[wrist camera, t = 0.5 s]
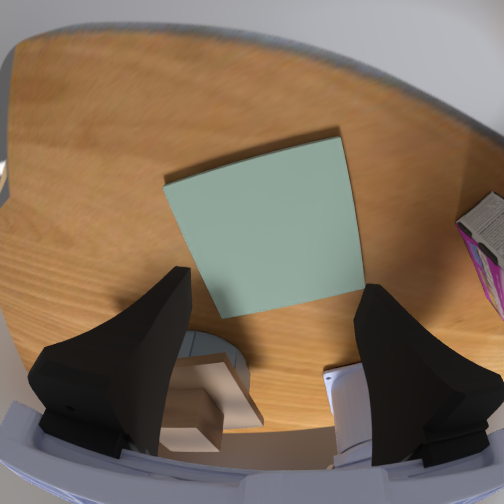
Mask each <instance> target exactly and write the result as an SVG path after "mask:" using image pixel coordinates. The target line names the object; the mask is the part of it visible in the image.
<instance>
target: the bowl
mask: <svg viewBox="0 0 504 504" xmlns="http://www.w3.org/2000/svg"><path fill="white" fill-rule="evenodd" d="M223 352H226V354H227V356H228V358H229V360H230V361H231V363H232V365H233V367H234V369H235V370H236V372H237V374H238V376H239V377H240V379H241V381H242V383H243V384H244V386H245V388H246V389H247V391H248V393H249V388H250V372H249V370H248V368H247V363H246V360H245V358H244V356H243V354H242V353H241V352H240V351H239V350H238V349H237V348H236V347H235V346H234V345H232V344H231V343H230V342H228V341H226V340H224V339H222V338H220V337H218V336H216V335H213V334H210V333H206V332H201V331H194V330H187V331H186V334H185V337H184V340H183V342H182V345H181V348H180V351H179V354H178V357H177V358H184V357H193V356H201V355H209V354H216V353H223Z"/></svg>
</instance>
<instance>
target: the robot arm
mask: <svg viewBox="0 0 504 504" xmlns="http://www.w3.org/2000/svg"><path fill="white" fill-rule="evenodd" d="M191 310H192V294H191V268H188V267H179V266H176V267H174V268H173V269H172V270H171V271H170V272H169V273H168V274H167V275H166V276H164V277H163V278H162V279H161V280H160V281H159V282H158V283H157V284H156V285H155V286H154V287H153V288H151V289H150V290H149V291H148V292H147V293H146V294H145V295H143V296H142V297H141V298H140V299H138V300H137V301H136V302H135V303H133V304H132V305H131V306H130V307H128V308H127V309H125V310H124V311H123V312H121V313H120V314H118V315H116V316H115V317H113V318H112V319H110V320H108V321H106V322H105V323H103V324H101V325H99V326H97V327H95V328H94V329H92V330H90V331H87V332H85V333H83V334H81V335H78V336H76V337H73V338H71V339H68V340H66V341H63V342H59V343H56V344H53V345H50V346H47V347H44V349H43V350H42V352H41V353H40V355H39V356H38V358H37V360H36V361H35V363H34V365H33V367H32V368H31V370H30V372H29V374H28V381H29V384H30V386H31V388H32V390H33V391H34V392H35V394H36V395H37V396H38V398H39V399H40V401H41V402H42V403H43V405H44V406H45V407H46V410H45V412H44V414H43V415H42V414H41V413H39V412H38V411H36V410H35V409H32V408H30V407H28V406H26V405H24V404H22V403H19V402H17V401H13V402H12V404H11V405H10V407H9V409H8V411H7V413H6V415H5V417H4V419H3V421H2V423H1V425H0V462H1V463H3V464H4V465H5V466H6V467H8V468H9V469H10V470H12V471H13V472H14V473H16V474H17V475H19V476H20V477H21V478H23V479H25V480H26V481H28V482H30V483H32V484H34V485H36V486H38V487H40V488H41V489H43V490H46V491H48V492H50V493H52V494H54V495H56V496H58V497H60V498H62V499H64V500H66V501H69V502H71V503H73V504H474V503H476V502H478V501H481V500H483V499H485V498H487V497H489V496H491V495H493V494H494V493H496V492H498V491H499V490H501V489H502V488H504V428H503V429H500V430H497V431H495V432H493V433H491V434H489V435H487V434H486V431H485V430H486V429H487V428H488V427H489V425H488V422H487V419H488V418H489V417H490V416H491V415H492V414H493V413H494V412H495V411H496V410H497V409H498V408H499V407H500V405H501V404H502V403H503V402H504V382H503V379H502V377H501V375H499V374H497V373H495V372H492V371H490V370H488V369H486V368H483V367H481V366H479V365H477V364H475V363H474V362H472V361H470V360H468V359H466V358H465V357H463V356H461V355H460V354H458V353H457V352H455V351H454V350H452V349H451V348H449V347H448V346H446V345H445V344H444V343H442V342H441V341H440V340H438V339H437V338H436V337H435V336H433V335H432V334H431V333H430V332H429V331H427V330H426V329H425V328H424V327H423V326H422V325H421V324H420V323H419V322H417V321H416V320H415V319H414V318H413V317H412V316H411V315H410V314H409V313H408V312H407V311H406V310H405V309H404V308H403V307H402V306H401V305H400V304H399V303H398V302H397V301H396V300H395V299H394V298H393V297H392V296H391V295H390V294H389V293H388V292H387V291H386V290H385V289H384V288H383V287H382V286H381V285H380V284H366V286H365V289H364V292H363V295H362V298H361V301H360V304H359V306H358V309H357V312H356V315H355V317H354V329H355V337H356V342H357V346H358V350H359V354H360V358H361V362H362V363H357V364H353V365H349V366H345V367H340V368H335V369H331V370H326V371H324V372H323V378H324V382H325V386H326V390H327V395H328V399H329V403H330V408H331V412H332V414H334V422H335V431H336V439H337V448H338V455H335V456H334V465H330V466H329V467H328V468H327V470H302V471H301V470H289V471H288V470H279V471H261V470H244V469H233V468H223V467H214V466H207V465H200V464H192V463H186V462H181V461H175V460H170V459H165V458H160V457H157V454H158V446H159V438H160V432H161V425H162V419H163V413H164V408H165V402H166V397H167V392H168V387H169V383H170V378H171V375H172V371H173V368H174V365H175V362H176V360H177V357H178V354H179V351H180V348H181V345H182V342H183V340H184V337H185V334H186V331H187V328H188V324H189V319H190V314H191Z"/></svg>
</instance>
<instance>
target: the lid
mask: <svg viewBox="0 0 504 504" xmlns="http://www.w3.org/2000/svg"><path fill="white" fill-rule="evenodd" d="M263 425H264V418H263V416H262V415H261V413H260V411H259V410H258V408H257V406H256V405H255V403H254V401H253V400H252V398H251V396H250V394H249V393H248V391H247V389H246V388H245V386H244V384H243V383H242V381H241V379H240V377H239V376H238V374H237V372H236V370H235V369H234V367H233V365H232V363H231V361H230V360H229V358H228V356H227V354H226V352H223V353H216V354H209V355H201V356H193V357H184V358H177V360H176V362H175V365H174V368H173V371H172V375H171V378H170V383H169V387H168V392H167V397H166V402H165V408H164V413H163V419H162V425H161V432H160V438H159V441H160V442H161V443H162V444H163V445H165V446H166V447H167V448H168V449H170V450H171V451H185V452H220V448H221V440H222V432H223V429H239V428H252V427H262V426H263Z"/></svg>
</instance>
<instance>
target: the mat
mask: <svg viewBox="0 0 504 504" xmlns="http://www.w3.org/2000/svg"><path fill="white" fill-rule="evenodd" d="M162 188H163V190H164V193H165V195H166V198H167V200H168V202H169V205H170V207H171V209H172V212H173V214H174V216H175V218H176V221H177V223H178V225H179V228H180V230H181V232H182V234H183V237H184V239H185V241H186V243H187V246H188V248H189V250H190V252H191V254H192V257H193V259H194V261H195V263H196V265H197V267H198V270H199V272H200V274H201V276H202V278H203V280H204V282H205V284H206V287H207V289H208V291H209V293H210V295H211V297H212V299H213V301H214V303H215V305H216V307H217V309H218V312H219V314H220V316H221V318H222V319H225V318H230V317H236V316H241V315H246V314H252V313H257V312H262V311H267V310H272V309H277V308H281V307H286V306H291V305H296V304H300V303H305V302H309V301H314V300H318V299H323V298H327V297H331V296H336V295H340V294H344V293H348V292H352V291H357V290H361V289H365V281H364V272H363V263H362V255H361V248H360V241H359V234H358V227H357V220H356V214H355V208H354V202H353V196H352V191H351V185H350V180H349V175H348V170H347V165H346V160H345V155H344V151H343V146H342V142H341V137H339V136H335V137H331V138H326V139H322V140H317V141H313V142H309V143H305V144H300V145H296V146H292V147H288V148H284V149H281V150H277V151H273V152H269V153H265V154H262V155H258V156H254V157H251V158H247V159H244V160H240V161H237V162H234V163H230V164H227V165H223V166H220V167H217V168H214V169H210V170H207V171H204V172H201V173H198V174H195V175H192V176H189V177H186V178H183V179H180V180H177V181H174V182H171V183H168V184H165V185H164V186H163V187H162Z"/></svg>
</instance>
